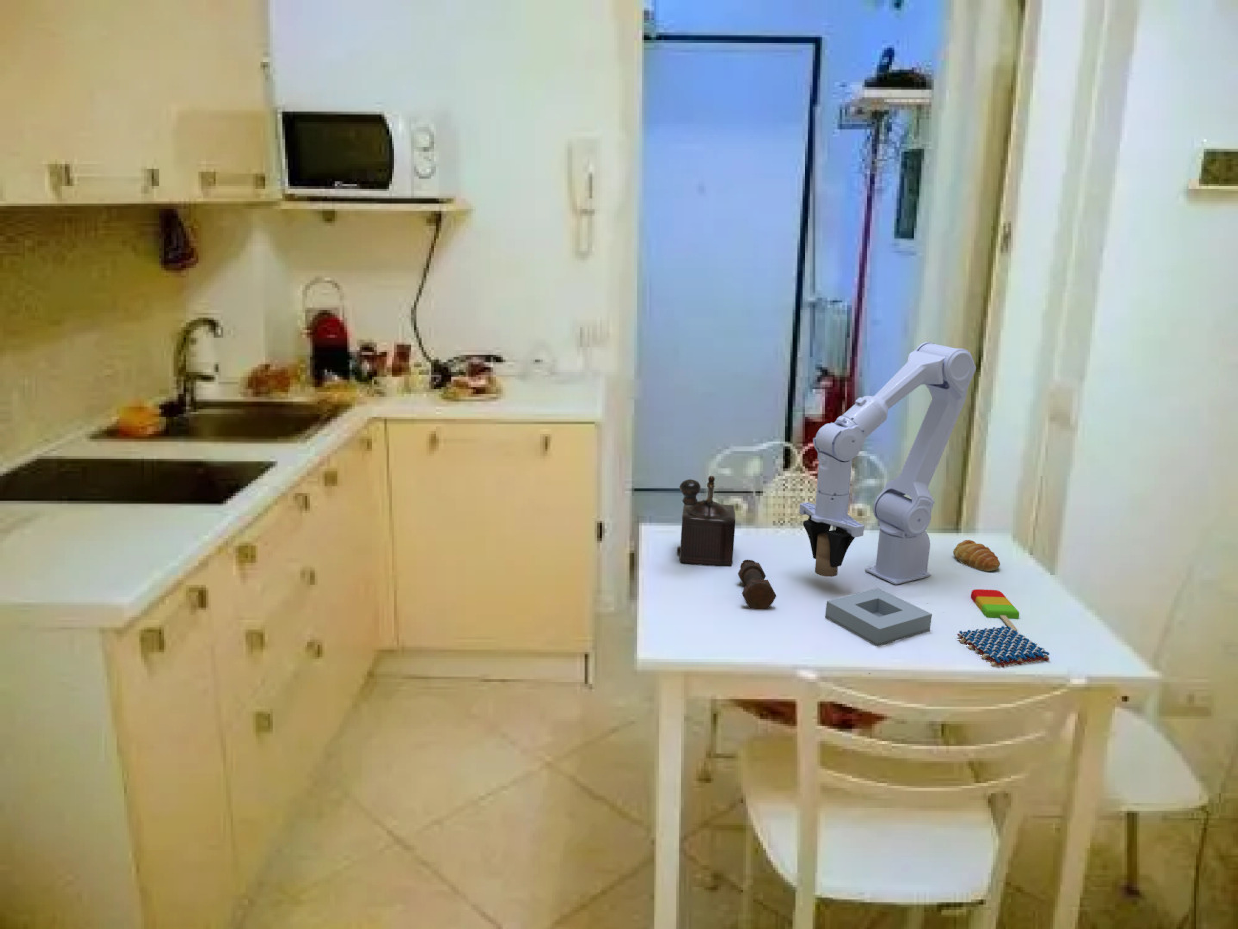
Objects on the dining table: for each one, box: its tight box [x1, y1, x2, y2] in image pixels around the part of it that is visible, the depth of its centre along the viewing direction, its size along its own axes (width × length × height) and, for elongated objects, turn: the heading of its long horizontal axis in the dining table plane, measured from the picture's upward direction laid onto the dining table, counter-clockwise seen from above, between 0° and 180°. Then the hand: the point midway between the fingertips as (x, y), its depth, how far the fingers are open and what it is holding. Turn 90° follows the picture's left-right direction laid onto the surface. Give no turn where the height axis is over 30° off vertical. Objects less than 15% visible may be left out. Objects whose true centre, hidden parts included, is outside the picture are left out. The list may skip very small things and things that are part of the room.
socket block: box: [824, 587, 933, 647], centre depth 152 cm, size 12×12×3 cm
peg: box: [814, 533, 839, 578], centre depth 165 cm, size 4×4×7 cm
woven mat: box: [956, 625, 1051, 668], centre depth 144 cm, size 10×11×2 cm
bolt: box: [737, 559, 777, 611], centre depth 163 cm, size 6×5×15 cm
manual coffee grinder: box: [676, 475, 736, 567], centre depth 176 cm, size 16×11×18 cm
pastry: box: [952, 539, 1001, 572], centre depth 179 cm, size 9×7×4 cm
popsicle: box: [970, 588, 1020, 632], centre depth 157 cm, size 6×15×2 cm, turn 177°
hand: (827, 561), depth 166 cm, fingers closed on peg, 4 cm apart
